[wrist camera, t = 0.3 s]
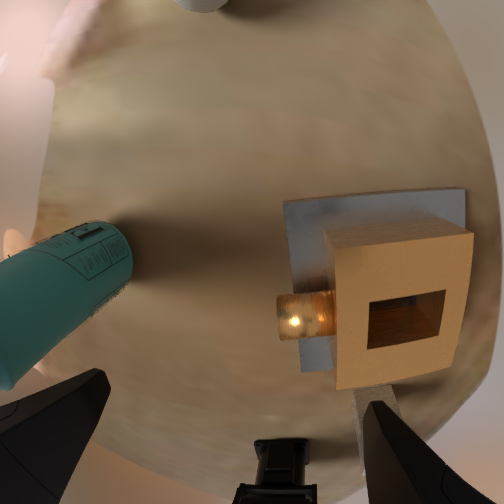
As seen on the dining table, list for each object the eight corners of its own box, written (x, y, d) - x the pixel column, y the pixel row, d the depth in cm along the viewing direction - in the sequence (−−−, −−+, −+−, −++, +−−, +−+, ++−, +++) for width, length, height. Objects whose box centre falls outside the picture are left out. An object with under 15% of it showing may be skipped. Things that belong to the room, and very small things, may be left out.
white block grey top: (387, 399, 24) (405, 466, 15) (351, 405, 24) (361, 475, 16) (390, 384, 23) (412, 453, 15) (353, 390, 24) (365, 464, 15)
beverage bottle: (135, 208, 21) (-103, 324, 2) (153, 284, 23) (-15, 461, 4) (80, 221, 22) (-106, 312, 3) (98, 287, 24) (-52, 415, 5)
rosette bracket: (442, 338, 21) (468, 377, 15) (290, 362, 23) (287, 411, 18) (455, 187, 17) (500, 197, 11) (269, 203, 20) (260, 218, 14)
